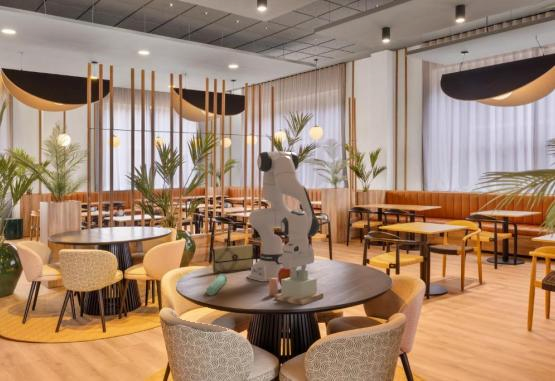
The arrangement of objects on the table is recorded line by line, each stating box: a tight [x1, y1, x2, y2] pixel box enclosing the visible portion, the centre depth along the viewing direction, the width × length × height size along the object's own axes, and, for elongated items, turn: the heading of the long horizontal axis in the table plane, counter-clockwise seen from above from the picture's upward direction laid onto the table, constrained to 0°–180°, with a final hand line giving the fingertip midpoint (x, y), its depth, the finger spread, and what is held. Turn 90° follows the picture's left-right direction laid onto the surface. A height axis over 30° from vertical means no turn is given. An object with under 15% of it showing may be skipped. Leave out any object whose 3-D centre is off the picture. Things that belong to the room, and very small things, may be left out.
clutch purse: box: [209, 244, 258, 274], centre depth 281 cm, size 30×7×15 cm, turn 121°
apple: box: [278, 268, 291, 286], centre depth 235 cm, size 9×9×12 cm
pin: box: [268, 278, 279, 297], centre depth 223 cm, size 4×4×8 cm
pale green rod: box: [206, 273, 228, 296], centre depth 236 cm, size 6×6×25 cm
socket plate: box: [274, 291, 324, 306], centre depth 217 cm, size 16×16×4 cm
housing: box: [280, 268, 318, 299], centre depth 217 cm, size 12×12×11 cm
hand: (298, 275), depth 217 cm, fingers open, 4 cm apart
